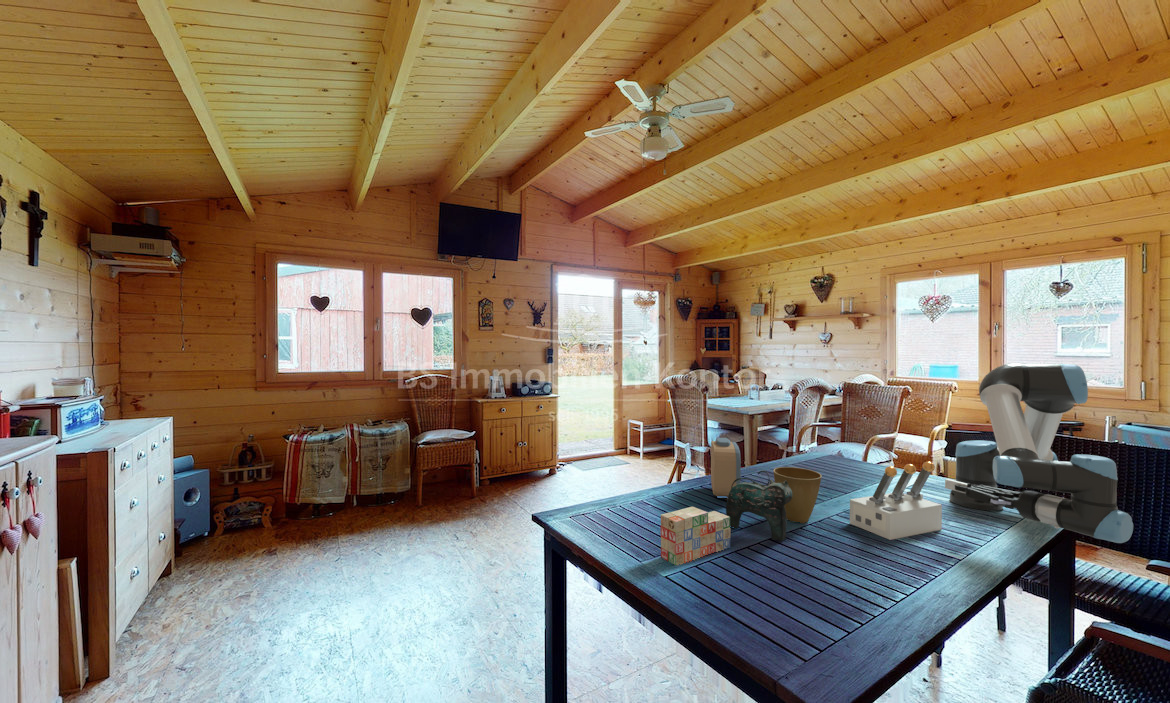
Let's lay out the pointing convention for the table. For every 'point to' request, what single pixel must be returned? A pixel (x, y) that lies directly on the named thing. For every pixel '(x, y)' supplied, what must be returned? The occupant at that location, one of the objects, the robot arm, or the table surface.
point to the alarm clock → (724, 466)
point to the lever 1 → (884, 485)
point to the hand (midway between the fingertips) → (946, 483)
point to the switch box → (896, 516)
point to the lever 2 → (921, 479)
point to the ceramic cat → (760, 504)
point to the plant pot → (799, 491)
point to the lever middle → (903, 482)
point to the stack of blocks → (693, 534)
